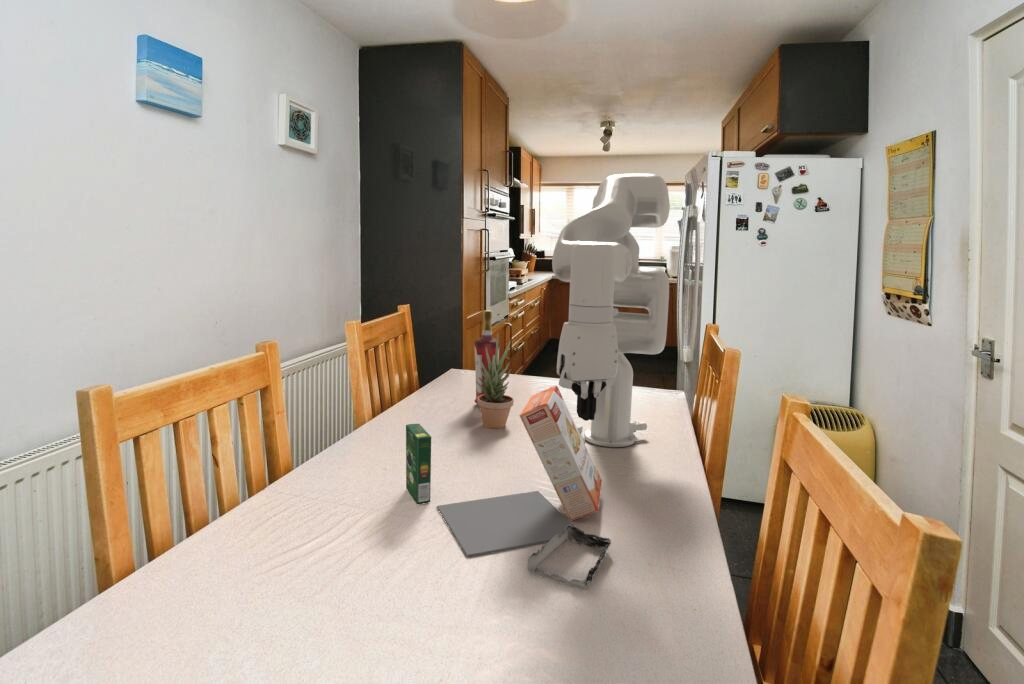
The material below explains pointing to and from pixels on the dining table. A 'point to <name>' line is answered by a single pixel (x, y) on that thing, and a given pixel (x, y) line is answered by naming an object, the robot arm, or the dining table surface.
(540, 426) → the cracker box
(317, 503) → the dining table surface
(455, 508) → the notebook
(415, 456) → the coffee box
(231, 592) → the dining table surface
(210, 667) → the dining table surface
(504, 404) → the potted plant
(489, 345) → the liquor
